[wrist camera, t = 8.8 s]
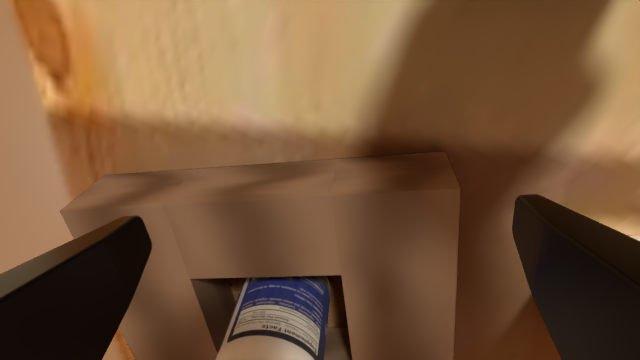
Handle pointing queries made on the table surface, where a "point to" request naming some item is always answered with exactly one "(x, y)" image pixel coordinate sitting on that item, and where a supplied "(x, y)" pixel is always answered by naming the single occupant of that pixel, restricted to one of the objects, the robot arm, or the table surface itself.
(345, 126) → the table surface
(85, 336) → the robot arm
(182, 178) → the well block
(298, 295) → the pill bottle
